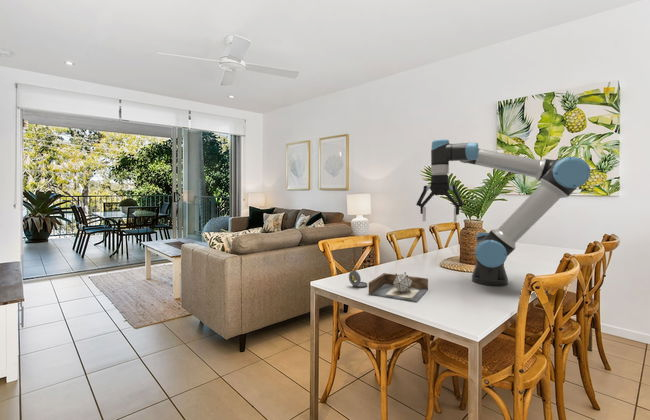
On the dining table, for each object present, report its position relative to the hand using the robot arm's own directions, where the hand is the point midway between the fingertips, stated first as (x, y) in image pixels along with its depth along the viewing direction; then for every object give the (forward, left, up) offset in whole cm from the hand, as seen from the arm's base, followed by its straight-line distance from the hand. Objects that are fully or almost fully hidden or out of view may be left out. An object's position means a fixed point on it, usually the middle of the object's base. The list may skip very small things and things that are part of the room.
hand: (439, 221), depth 153 cm
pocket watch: (+31, +21, -29) cm, 47 cm away
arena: (+12, +21, -29) cm, 38 cm away
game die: (+10, +22, -28) cm, 37 cm away
